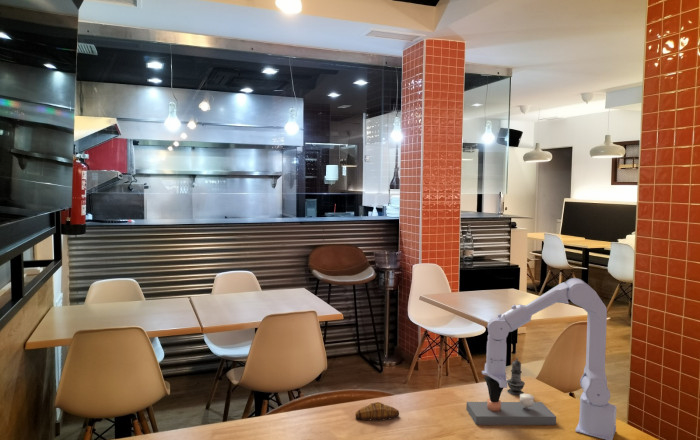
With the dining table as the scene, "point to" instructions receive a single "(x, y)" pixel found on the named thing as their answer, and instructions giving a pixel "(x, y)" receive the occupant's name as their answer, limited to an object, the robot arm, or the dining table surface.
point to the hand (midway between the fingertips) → (494, 401)
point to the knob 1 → (494, 406)
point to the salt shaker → (515, 379)
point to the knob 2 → (526, 400)
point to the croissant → (376, 412)
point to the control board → (511, 414)
